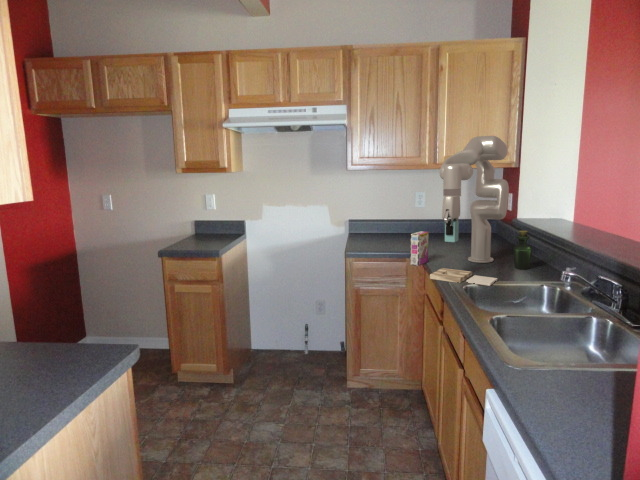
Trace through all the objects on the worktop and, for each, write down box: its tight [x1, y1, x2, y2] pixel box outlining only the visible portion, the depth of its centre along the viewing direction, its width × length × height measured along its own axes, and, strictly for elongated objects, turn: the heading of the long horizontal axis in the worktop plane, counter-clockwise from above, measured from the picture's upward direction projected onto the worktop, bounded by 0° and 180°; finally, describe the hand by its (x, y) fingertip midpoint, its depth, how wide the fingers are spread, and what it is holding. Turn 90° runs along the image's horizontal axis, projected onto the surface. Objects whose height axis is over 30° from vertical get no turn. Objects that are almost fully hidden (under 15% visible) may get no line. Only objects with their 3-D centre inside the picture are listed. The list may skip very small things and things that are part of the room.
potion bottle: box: [512, 230, 533, 271], centre depth 210 cm, size 8×8×18 cm
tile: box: [465, 274, 498, 287], centre depth 191 cm, size 10×10×1 cm
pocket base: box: [429, 267, 473, 284], centre depth 199 cm, size 14×14×2 cm
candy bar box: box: [409, 230, 430, 267], centre depth 227 cm, size 11×5×16 cm, turn 141°
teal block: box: [444, 220, 460, 243], centre depth 196 cm, size 4×4×9 cm
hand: (451, 233), depth 196 cm, fingers closed on teal block, 4 cm apart
